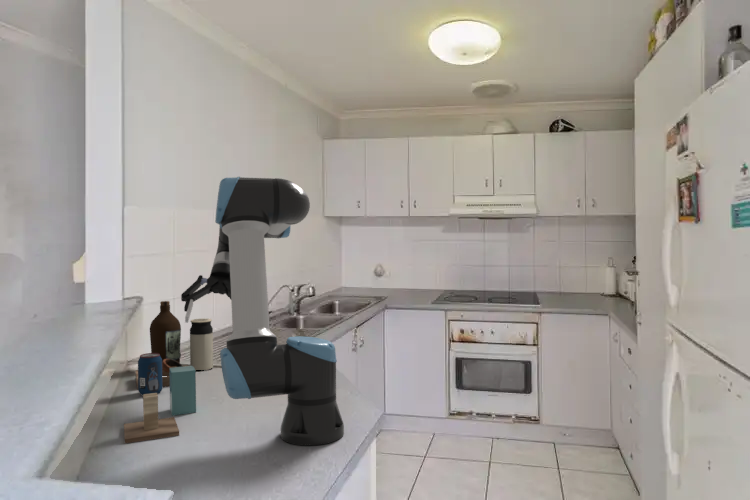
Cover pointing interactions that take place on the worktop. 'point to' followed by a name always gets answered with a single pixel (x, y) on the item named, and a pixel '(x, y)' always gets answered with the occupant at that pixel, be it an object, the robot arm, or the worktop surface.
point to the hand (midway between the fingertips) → (210, 323)
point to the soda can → (150, 373)
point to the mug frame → (164, 379)
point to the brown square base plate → (150, 423)
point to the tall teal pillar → (182, 390)
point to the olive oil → (166, 334)
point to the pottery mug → (171, 362)
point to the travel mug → (201, 344)
